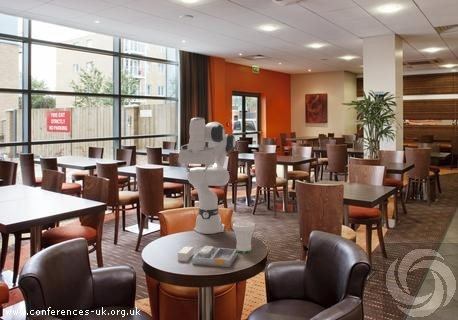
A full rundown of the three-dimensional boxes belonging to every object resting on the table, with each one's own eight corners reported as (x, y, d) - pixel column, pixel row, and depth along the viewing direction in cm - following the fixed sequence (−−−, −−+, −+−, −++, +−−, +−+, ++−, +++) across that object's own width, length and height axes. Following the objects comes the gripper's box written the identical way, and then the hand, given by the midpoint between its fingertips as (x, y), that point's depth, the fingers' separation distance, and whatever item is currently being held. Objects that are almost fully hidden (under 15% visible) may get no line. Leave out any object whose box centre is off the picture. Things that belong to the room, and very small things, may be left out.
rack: (202, 252, 204) (202, 243, 204) (237, 255, 200) (237, 245, 200) (192, 264, 188) (191, 254, 187) (229, 267, 184) (229, 257, 183)
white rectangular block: (184, 254, 202) (184, 246, 202) (193, 254, 201) (193, 247, 201) (177, 260, 193) (177, 252, 192) (186, 261, 192) (186, 253, 191)
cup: (248, 255, 199) (248, 228, 198) (229, 252, 204) (229, 225, 203) (258, 249, 209) (258, 222, 207) (239, 246, 214) (239, 220, 213)
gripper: (217, 147, 218) (216, 172, 218) (181, 147, 223) (180, 171, 223) (214, 147, 212) (213, 173, 212) (177, 146, 217) (176, 172, 217)
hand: (196, 172), depth 218 cm, fingers open, 8 cm apart
